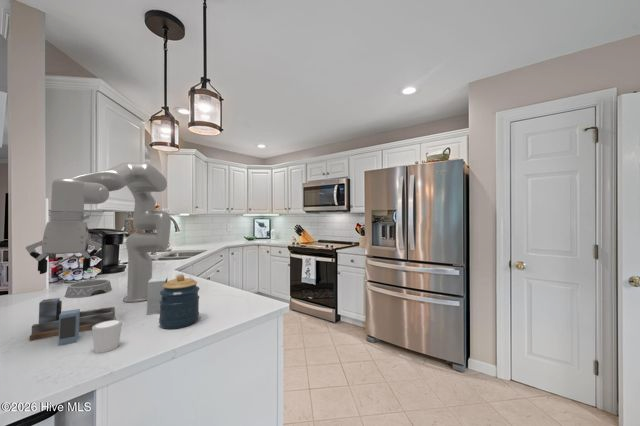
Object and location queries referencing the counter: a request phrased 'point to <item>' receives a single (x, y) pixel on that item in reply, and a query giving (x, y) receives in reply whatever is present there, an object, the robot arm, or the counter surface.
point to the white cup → (106, 335)
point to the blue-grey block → (69, 326)
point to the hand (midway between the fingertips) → (65, 271)
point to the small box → (154, 294)
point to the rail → (50, 319)
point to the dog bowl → (87, 288)
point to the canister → (179, 303)
